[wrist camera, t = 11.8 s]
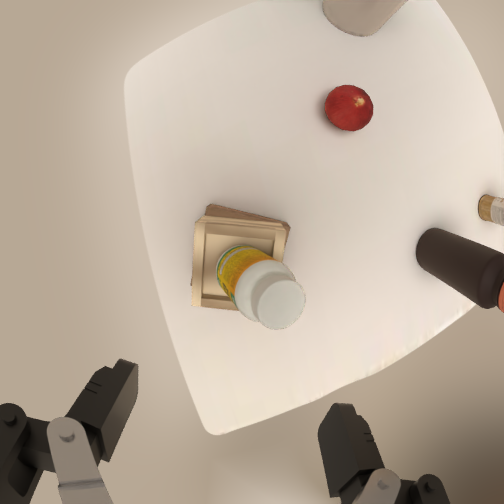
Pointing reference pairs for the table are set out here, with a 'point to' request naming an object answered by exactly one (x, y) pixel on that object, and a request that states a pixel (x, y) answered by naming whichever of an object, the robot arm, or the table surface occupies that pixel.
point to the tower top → (220, 240)
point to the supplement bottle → (260, 286)
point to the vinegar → (464, 266)
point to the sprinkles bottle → (492, 209)
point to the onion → (349, 107)
